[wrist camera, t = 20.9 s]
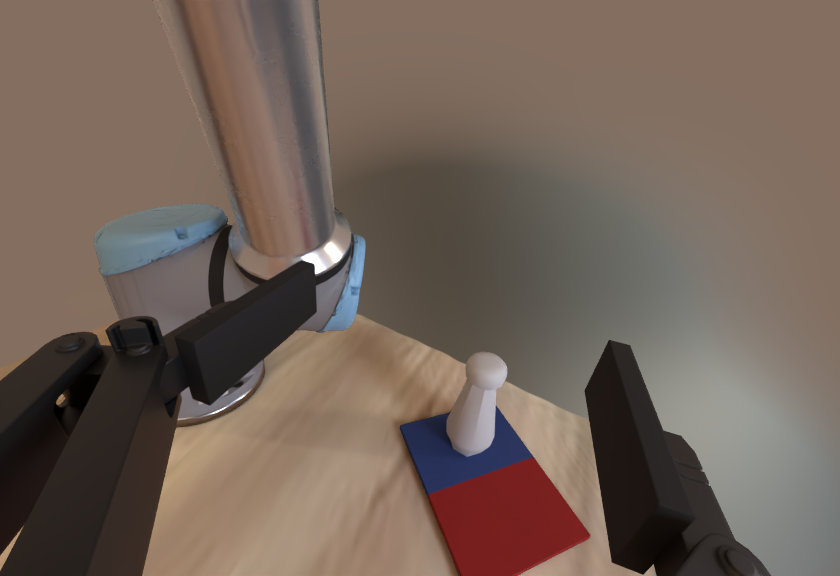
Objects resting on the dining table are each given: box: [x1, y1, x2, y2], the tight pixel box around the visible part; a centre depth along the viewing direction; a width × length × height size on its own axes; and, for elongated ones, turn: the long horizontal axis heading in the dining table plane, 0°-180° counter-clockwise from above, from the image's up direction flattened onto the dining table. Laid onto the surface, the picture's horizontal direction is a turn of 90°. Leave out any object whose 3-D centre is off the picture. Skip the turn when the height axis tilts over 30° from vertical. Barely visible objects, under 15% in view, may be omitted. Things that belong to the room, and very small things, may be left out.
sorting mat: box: [400, 406, 590, 576], centre depth 39 cm, size 18×14×1 cm
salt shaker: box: [446, 352, 507, 457], centre depth 39 cm, size 6×6×13 cm
